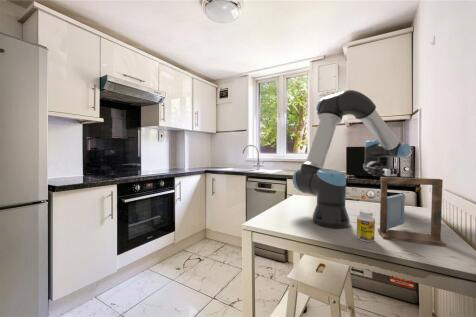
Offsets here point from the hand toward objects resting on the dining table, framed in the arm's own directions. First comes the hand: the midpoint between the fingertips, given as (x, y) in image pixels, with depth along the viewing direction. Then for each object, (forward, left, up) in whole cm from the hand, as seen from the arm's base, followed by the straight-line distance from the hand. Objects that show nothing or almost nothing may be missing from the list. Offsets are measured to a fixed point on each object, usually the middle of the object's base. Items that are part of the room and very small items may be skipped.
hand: (388, 173), depth 95 cm
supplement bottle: (-13, -25, -22) cm, 36 cm away
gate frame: (+2, -18, -22) cm, 29 cm away
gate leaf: (-1, -12, -20) cm, 23 cm away
